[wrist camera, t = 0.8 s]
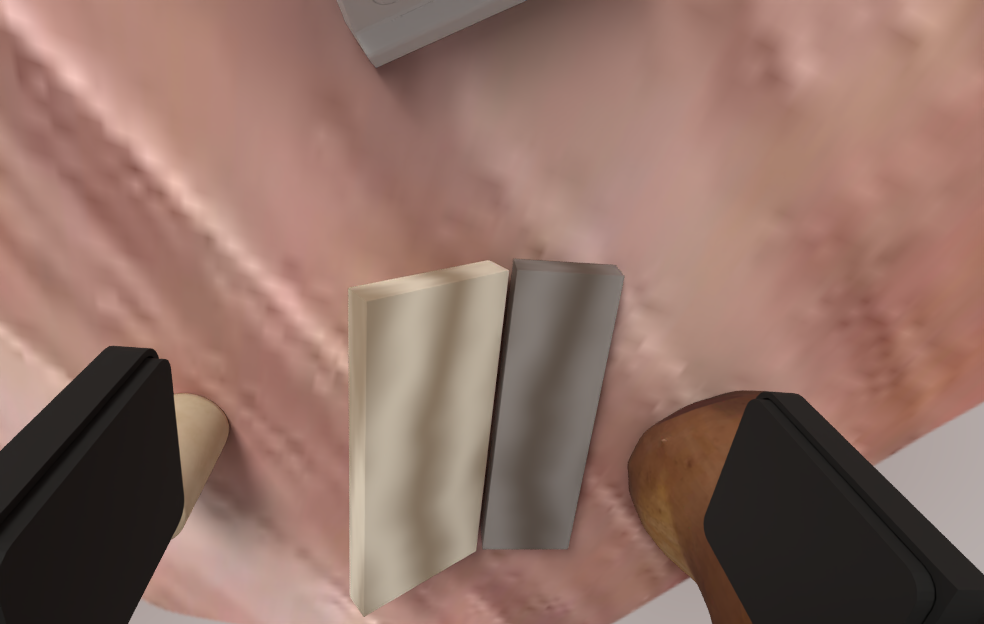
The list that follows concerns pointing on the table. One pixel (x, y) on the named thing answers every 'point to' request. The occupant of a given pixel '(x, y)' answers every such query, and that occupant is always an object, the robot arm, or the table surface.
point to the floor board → (547, 399)
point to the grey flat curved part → (411, 22)
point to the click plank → (419, 423)
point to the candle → (197, 444)
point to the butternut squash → (689, 491)
